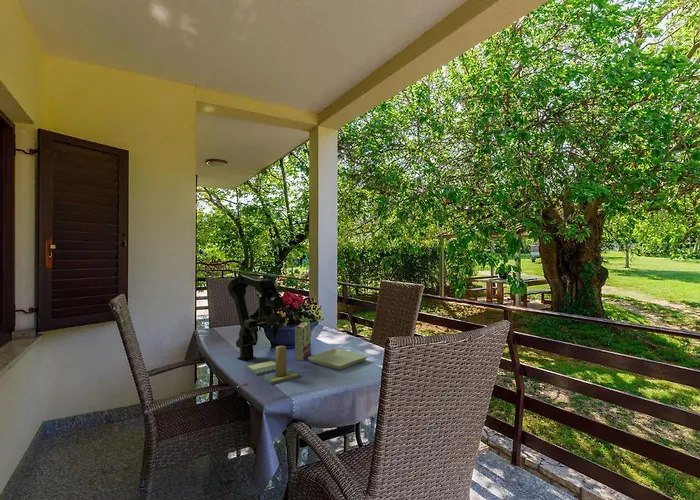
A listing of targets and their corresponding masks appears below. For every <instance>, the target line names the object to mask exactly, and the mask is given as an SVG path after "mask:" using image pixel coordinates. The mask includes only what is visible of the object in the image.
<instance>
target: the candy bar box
mask: <svg viewBox="0 0 700 500" xmlns="http://www.w3.org/2000/svg"><path fill="white" fill-rule="evenodd" d="M311 335H312V334H311V322H300V323H299V324H297V325H296V326H294V360H295V361H302V362H303V361H306V360H307V359H308V357H310V355H311V354H312V350H311V349H312V348H311V345H312V343H311Z"/></svg>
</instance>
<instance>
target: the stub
mask: <svg viewBox="0 0 700 500" xmlns="http://www.w3.org/2000/svg"><path fill="white" fill-rule="evenodd" d="M275 362H276V371H275V374H271V375H267V376H262V380H263V381H265V382H266V383H268V385H269V384H270V385H273V384H278V383H282V382H286V381H290V380H294V379H297V378H302V376H301V375H302V374H301V373H299V372H297V371H294V370H287V346H286V345H278V346H275Z"/></svg>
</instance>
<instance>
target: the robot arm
mask: <svg viewBox="0 0 700 500" xmlns="http://www.w3.org/2000/svg"><path fill="white" fill-rule="evenodd" d="M248 286H251V287H253V288H254V290H255V291H257V294H256V297H258V308H257V311H258V317H257V320H255V319H252V318H251V319H250V315H249V311H248V307H247V303H246V299H245V296H246V294H247V288H248ZM227 291H228V293H229V296H230V297H231V298H232V299H233V300H234V303H235V308H236V312H237V317H238V321H239V325H240V329H239V332H238V339H237V340H236V342H235V346H236V348H239V356H238V357H236V359H237V360H240V361H244V362H247V361H249V360H254V359H256V356H254V346H257V343H258V340H259V335H258V334H259V333H258V329H259V328H258V325H259V326H260V325H264V324H265V325H267V326H271V327H272V338H273V339H276V337H277V334H278V332H279V329H280V327H282V326H283V325H284V324H286V322H287V321H286V316H282V314H281V312H276V313H274V309H276V310H280V309H282V308H283V306H284V299H283V297H282V296H281V294H280V293H279V292H278V289H277V288H276V285H275V282H274V281H273V279H270V278H258V277H256V276H253V275H250V274H248V273H240V274H238V275H237V276H236V277H235V278H233V279H232V280H231V281H230V282H229V283H228V285H227Z"/></svg>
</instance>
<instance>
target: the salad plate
mask: <svg viewBox="0 0 700 500" xmlns="http://www.w3.org/2000/svg"><path fill="white" fill-rule="evenodd" d="M307 359H308V361H310V362H311V363H314V364H317V365H320V366H323V367H327V368H331V369H334V370H343V369H346V368H349V367H351V366H354V365H356V364H359V363H361V362H364V361H366V359H368V356H367V355H364V354H361V353H358V352H353V351H349V350H345V349H341V348H340V349H339V348H333V349H330V350H326V351H324V352H320V353H317V354H313V355H311V356H310V355H309V356H308V357H307Z"/></svg>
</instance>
